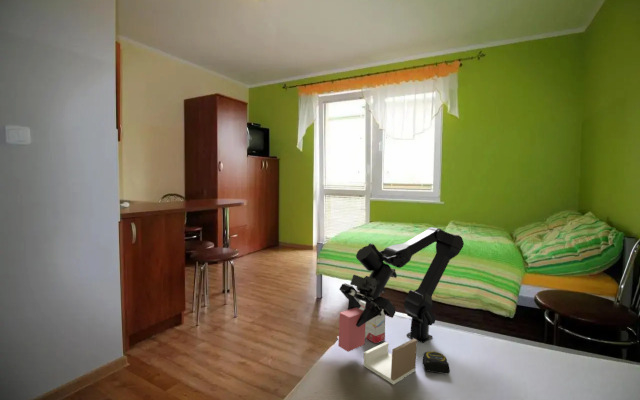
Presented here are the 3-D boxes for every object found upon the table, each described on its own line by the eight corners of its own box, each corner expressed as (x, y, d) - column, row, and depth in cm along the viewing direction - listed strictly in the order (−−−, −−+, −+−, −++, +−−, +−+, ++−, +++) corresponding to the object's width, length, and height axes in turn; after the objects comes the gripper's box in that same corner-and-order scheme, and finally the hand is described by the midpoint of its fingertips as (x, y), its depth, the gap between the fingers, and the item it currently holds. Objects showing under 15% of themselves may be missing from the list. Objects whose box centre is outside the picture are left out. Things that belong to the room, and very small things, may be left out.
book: (354, 338, 96) (356, 307, 95) (364, 344, 93) (366, 311, 92) (338, 345, 91) (339, 312, 91) (348, 351, 88) (349, 317, 88)
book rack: (385, 354, 96) (386, 325, 95) (415, 370, 88) (417, 339, 87) (363, 365, 89) (365, 335, 89) (393, 384, 81) (395, 351, 81)
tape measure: (423, 373, 87) (424, 360, 87) (421, 360, 93) (421, 348, 93) (449, 378, 85) (450, 365, 85) (445, 364, 92) (446, 352, 92)
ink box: (385, 340, 104) (387, 306, 104) (374, 344, 101) (376, 309, 101) (367, 330, 112) (369, 297, 111) (357, 333, 109) (358, 300, 108)
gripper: (344, 258, 101) (317, 298, 95) (391, 272, 87) (363, 321, 80) (359, 278, 107) (335, 317, 100) (406, 294, 92) (381, 341, 86)
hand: (351, 323), depth 91 cm, fingers closed on book, 4 cm apart
